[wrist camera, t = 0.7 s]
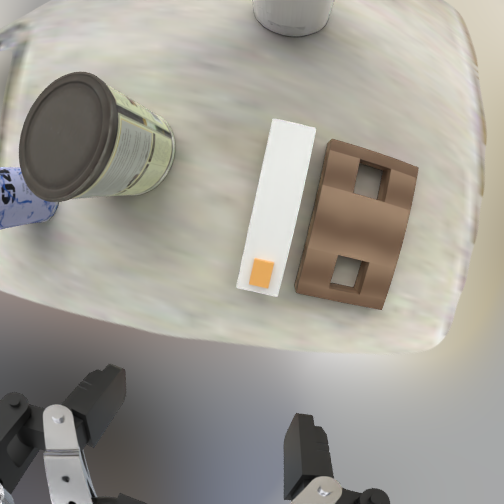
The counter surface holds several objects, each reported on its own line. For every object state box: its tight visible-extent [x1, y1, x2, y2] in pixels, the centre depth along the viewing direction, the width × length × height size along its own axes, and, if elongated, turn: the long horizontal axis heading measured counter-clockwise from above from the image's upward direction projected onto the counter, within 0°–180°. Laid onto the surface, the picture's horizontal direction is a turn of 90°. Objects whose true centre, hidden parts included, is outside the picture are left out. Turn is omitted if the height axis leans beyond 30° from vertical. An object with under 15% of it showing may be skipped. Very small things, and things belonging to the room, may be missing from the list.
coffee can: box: [19, 72, 175, 202], centre depth 23 cm, size 10×10×14 cm
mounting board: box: [294, 139, 418, 310], centre depth 29 cm, size 16×10×2 cm, turn 168°
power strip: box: [236, 118, 316, 297], centre depth 28 cm, size 16×4×6 cm, turn 168°
